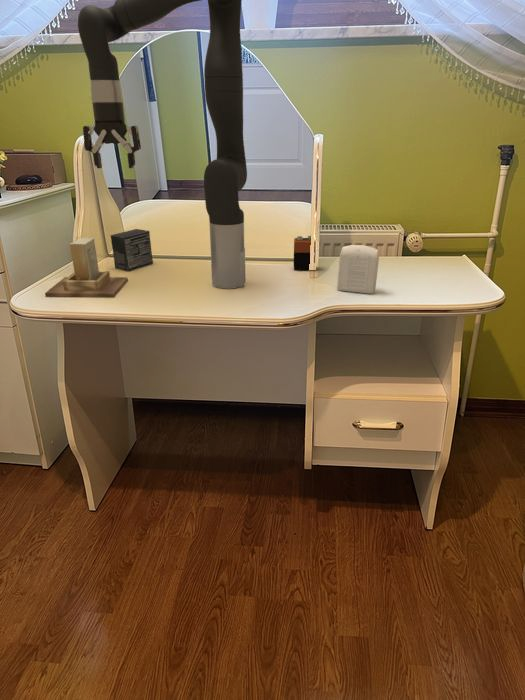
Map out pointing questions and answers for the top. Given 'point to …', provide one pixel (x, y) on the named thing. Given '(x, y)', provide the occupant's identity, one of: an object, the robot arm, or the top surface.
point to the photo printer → (358, 269)
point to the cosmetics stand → (88, 286)
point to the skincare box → (84, 259)
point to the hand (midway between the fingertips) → (115, 168)
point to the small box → (132, 249)
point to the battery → (302, 253)
